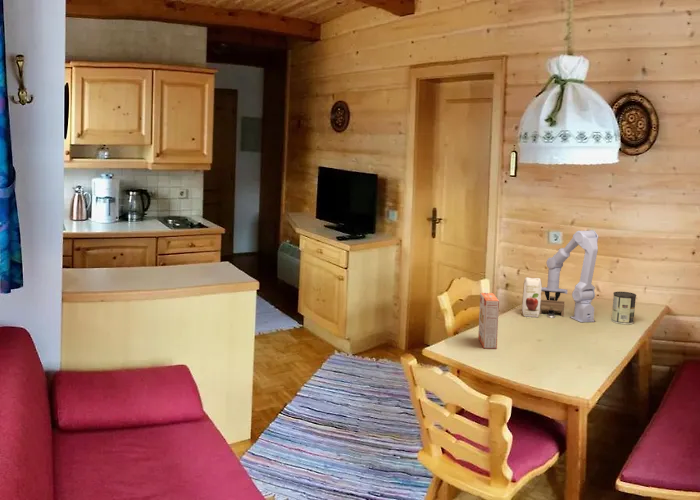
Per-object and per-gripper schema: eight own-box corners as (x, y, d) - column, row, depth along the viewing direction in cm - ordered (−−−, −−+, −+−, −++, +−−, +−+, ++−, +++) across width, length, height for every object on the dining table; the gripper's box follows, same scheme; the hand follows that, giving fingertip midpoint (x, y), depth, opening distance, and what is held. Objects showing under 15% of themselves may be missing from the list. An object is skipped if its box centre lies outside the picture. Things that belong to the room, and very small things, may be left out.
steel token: (556, 318, 329) (556, 316, 329) (549, 318, 328) (549, 316, 328) (552, 316, 333) (552, 314, 333) (545, 316, 332) (545, 314, 332)
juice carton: (521, 313, 336) (523, 276, 333) (538, 314, 335) (541, 277, 332) (521, 316, 329) (524, 279, 326) (539, 318, 327) (542, 280, 324)
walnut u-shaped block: (539, 310, 342) (539, 299, 341) (563, 312, 339) (564, 301, 338) (538, 314, 335) (539, 302, 334) (563, 316, 331) (564, 305, 330)
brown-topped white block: (548, 308, 347) (549, 296, 346) (554, 309, 346) (555, 296, 345) (547, 315, 333) (548, 302, 332) (554, 316, 332) (555, 303, 331)
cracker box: (477, 338, 290) (479, 292, 286) (491, 339, 290) (493, 292, 286) (482, 348, 276) (485, 299, 273) (497, 349, 276) (500, 300, 272)
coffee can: (625, 318, 331) (628, 291, 328) (638, 324, 321) (640, 295, 318) (606, 319, 329) (609, 291, 327) (618, 324, 319) (621, 296, 317)
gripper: (568, 280, 345) (566, 305, 347) (539, 277, 349) (537, 302, 351) (568, 282, 338) (566, 308, 340) (538, 280, 342) (536, 306, 344)
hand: (551, 306), depth 345 cm, fingers closed on brown-topped white block, 2 cm apart
